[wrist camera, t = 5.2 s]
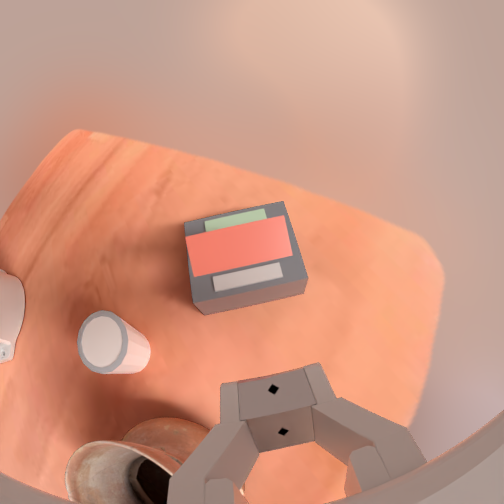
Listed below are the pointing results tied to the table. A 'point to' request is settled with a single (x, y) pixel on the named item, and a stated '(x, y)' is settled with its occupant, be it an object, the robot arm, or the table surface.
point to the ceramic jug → (133, 463)
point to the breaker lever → (238, 246)
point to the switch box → (247, 267)
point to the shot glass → (112, 345)
